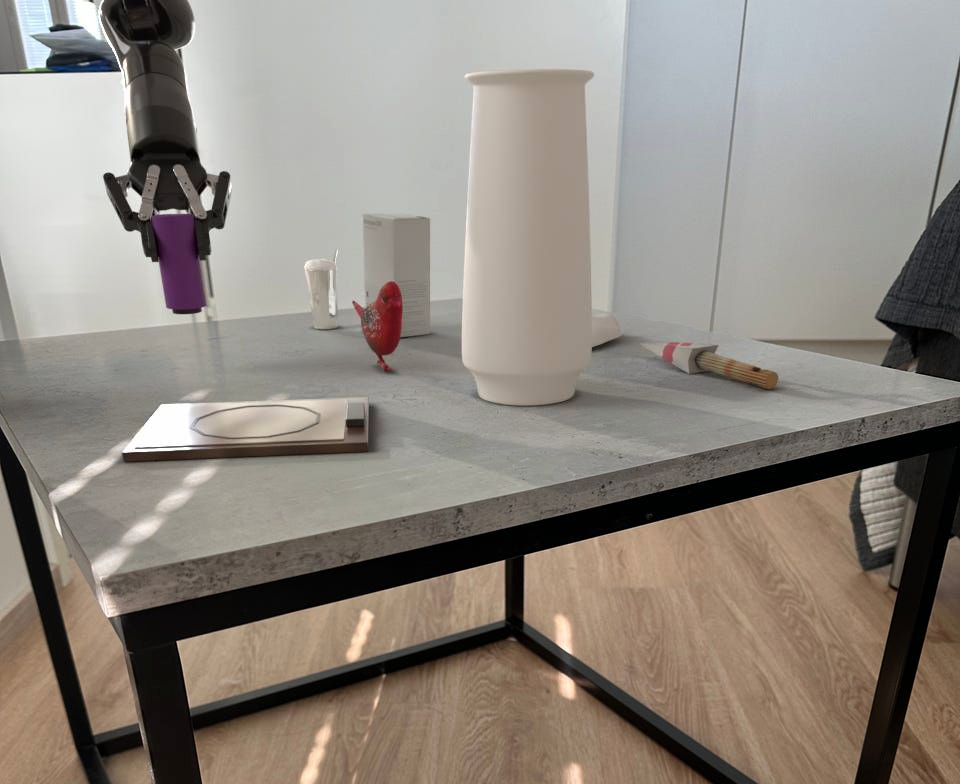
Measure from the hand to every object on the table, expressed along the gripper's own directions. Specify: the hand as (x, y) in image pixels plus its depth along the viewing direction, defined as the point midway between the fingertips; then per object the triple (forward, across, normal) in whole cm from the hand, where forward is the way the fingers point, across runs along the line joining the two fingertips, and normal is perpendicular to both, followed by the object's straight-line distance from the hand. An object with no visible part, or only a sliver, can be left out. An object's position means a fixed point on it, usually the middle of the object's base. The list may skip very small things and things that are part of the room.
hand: (178, 255), depth 100 cm
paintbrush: (+22, +54, -5) cm, 59 cm away
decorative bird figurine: (+11, +20, +6) cm, 24 cm away
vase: (+24, +32, -7) cm, 41 cm away
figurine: (+5, +44, +12) cm, 46 cm away
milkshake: (-9, +18, +26) cm, 34 cm away
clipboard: (+28, +5, -11) cm, 31 cm away
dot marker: (+3, 0, +6) cm, 6 cm away
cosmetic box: (-4, +27, +21) cm, 35 cm away
